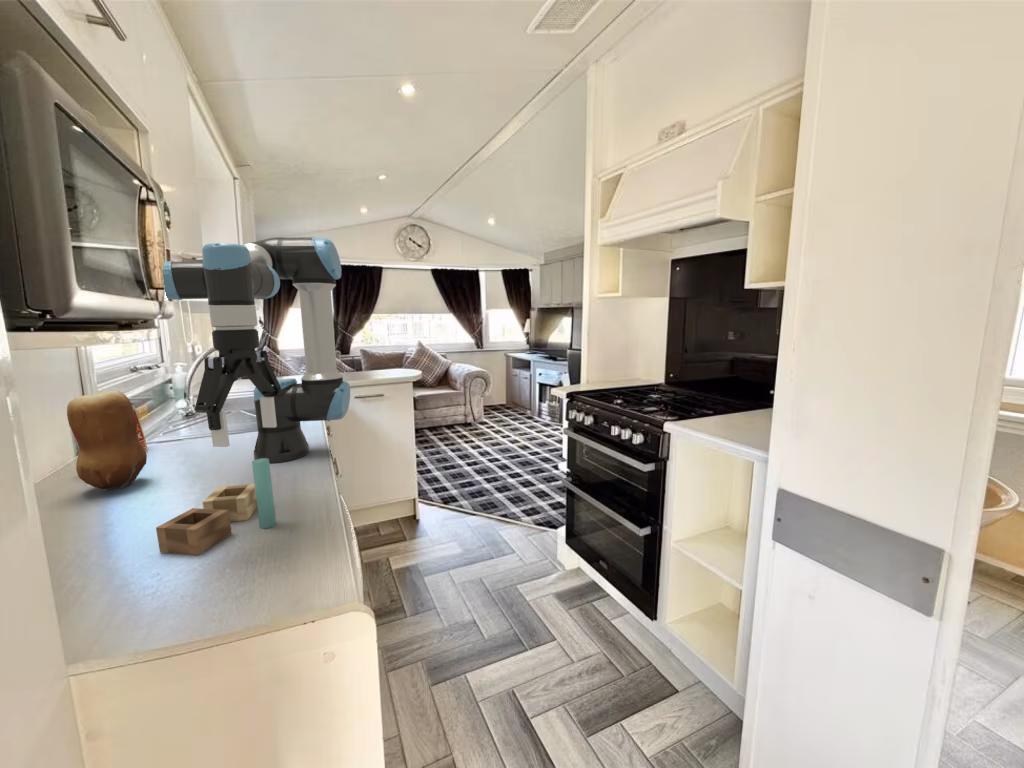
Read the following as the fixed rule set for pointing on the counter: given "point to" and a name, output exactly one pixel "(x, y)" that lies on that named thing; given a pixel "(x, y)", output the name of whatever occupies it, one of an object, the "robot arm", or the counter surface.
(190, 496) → the counter surface
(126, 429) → the butternut squash
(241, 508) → the light wooden square frame
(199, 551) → the brown wooden square frame
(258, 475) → the teal cylindrical rod
